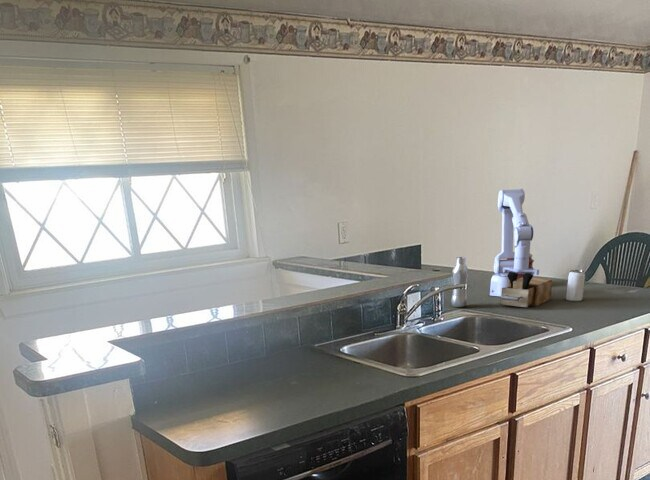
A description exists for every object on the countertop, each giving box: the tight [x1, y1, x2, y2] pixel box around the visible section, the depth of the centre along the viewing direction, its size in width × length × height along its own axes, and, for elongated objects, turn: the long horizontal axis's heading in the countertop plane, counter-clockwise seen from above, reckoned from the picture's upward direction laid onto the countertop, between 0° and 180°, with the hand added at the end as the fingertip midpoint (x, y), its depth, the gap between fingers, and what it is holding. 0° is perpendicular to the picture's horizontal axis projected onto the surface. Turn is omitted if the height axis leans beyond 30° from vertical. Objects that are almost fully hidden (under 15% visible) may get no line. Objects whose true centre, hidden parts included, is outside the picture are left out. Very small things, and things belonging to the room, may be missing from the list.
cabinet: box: [509, 277, 553, 307], centre depth 274 cm, size 15×13×9 cm
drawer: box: [500, 286, 536, 308], centre depth 267 cm, size 18×11×7 cm, turn 140°
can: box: [565, 269, 586, 302], centre depth 272 cm, size 6×6×12 cm
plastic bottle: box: [450, 256, 469, 308], centre depth 267 cm, size 6×7×20 cm
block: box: [513, 280, 523, 289], centre depth 266 cm, size 4×4×6 cm
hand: (519, 291), depth 266 cm, fingers closed on block, 4 cm apart
